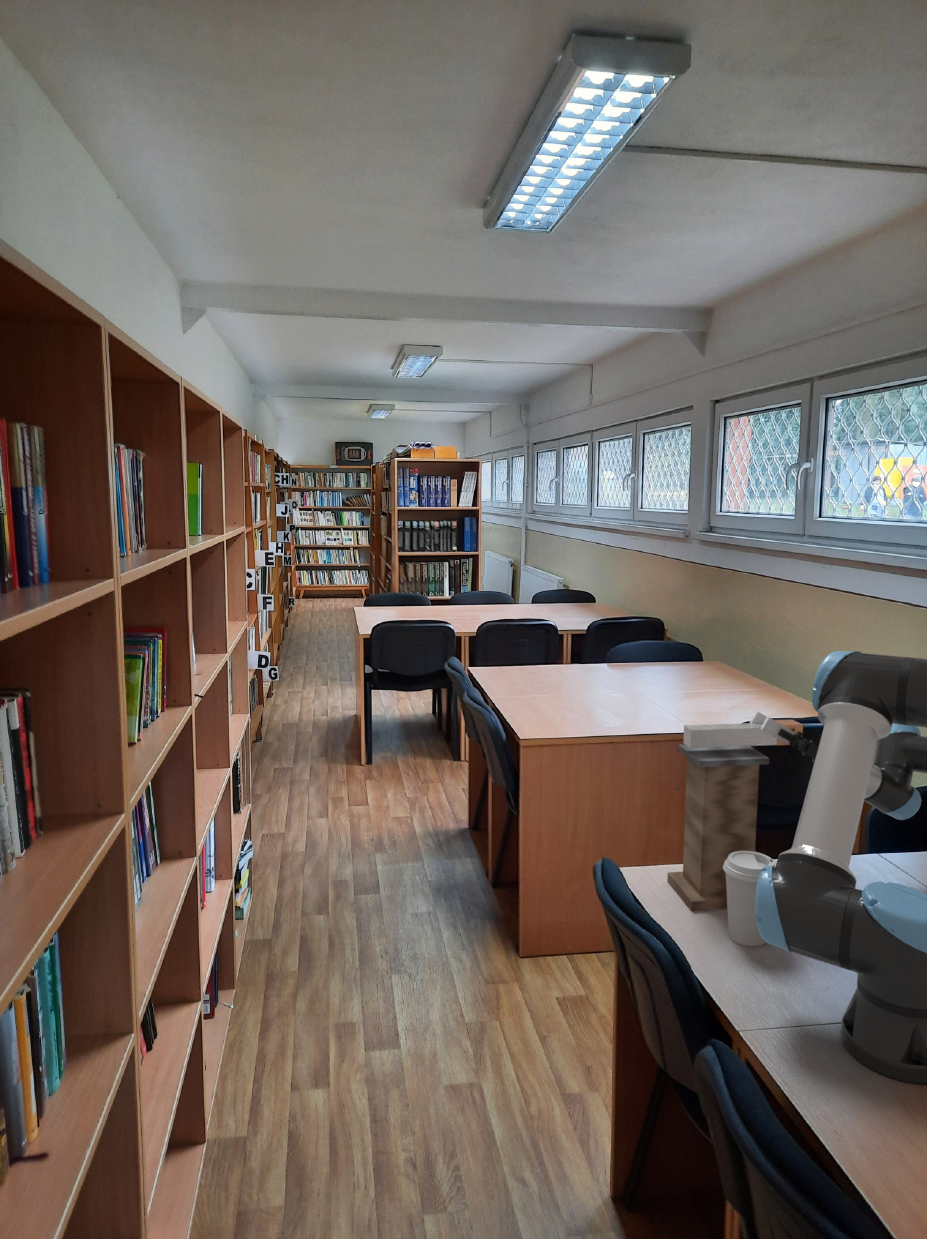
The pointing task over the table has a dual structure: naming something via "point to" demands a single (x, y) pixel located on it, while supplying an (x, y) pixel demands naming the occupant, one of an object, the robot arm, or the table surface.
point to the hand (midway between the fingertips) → (759, 720)
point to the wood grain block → (734, 734)
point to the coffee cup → (744, 895)
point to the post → (716, 820)
